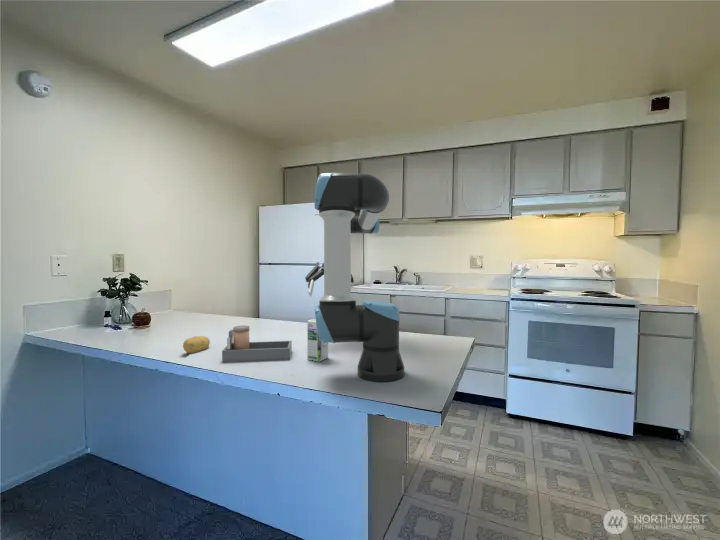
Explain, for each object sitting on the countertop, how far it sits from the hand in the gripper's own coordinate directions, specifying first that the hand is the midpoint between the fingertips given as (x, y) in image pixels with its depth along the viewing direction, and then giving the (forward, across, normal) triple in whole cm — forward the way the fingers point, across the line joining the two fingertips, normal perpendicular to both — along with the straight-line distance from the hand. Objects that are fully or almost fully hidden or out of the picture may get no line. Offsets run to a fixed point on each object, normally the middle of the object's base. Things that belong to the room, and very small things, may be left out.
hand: (326, 294), depth 136 cm
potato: (+23, +50, -8) cm, 56 cm away
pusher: (+27, +31, -2) cm, 41 cm away
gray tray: (+26, +22, -5) cm, 35 cm away
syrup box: (+25, 0, -7) cm, 26 cm away
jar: (+27, +28, -3) cm, 39 cm away
